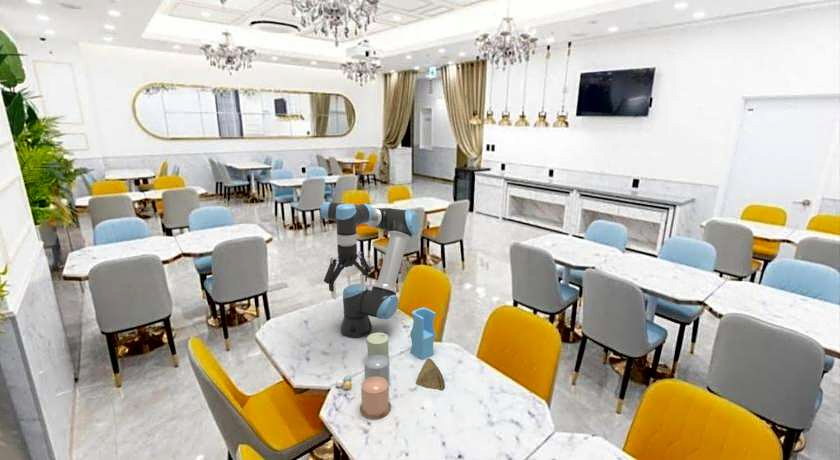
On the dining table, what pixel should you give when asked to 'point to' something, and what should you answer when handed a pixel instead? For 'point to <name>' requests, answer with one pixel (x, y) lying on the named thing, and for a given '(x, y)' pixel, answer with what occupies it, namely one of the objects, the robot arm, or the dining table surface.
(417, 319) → the blue notched block
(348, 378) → the marble teal
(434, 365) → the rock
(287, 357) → the dining table surface
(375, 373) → the cup grey
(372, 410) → the cup terracotta
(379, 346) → the can
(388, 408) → the coaster
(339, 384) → the marble white
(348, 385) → the marble amber
